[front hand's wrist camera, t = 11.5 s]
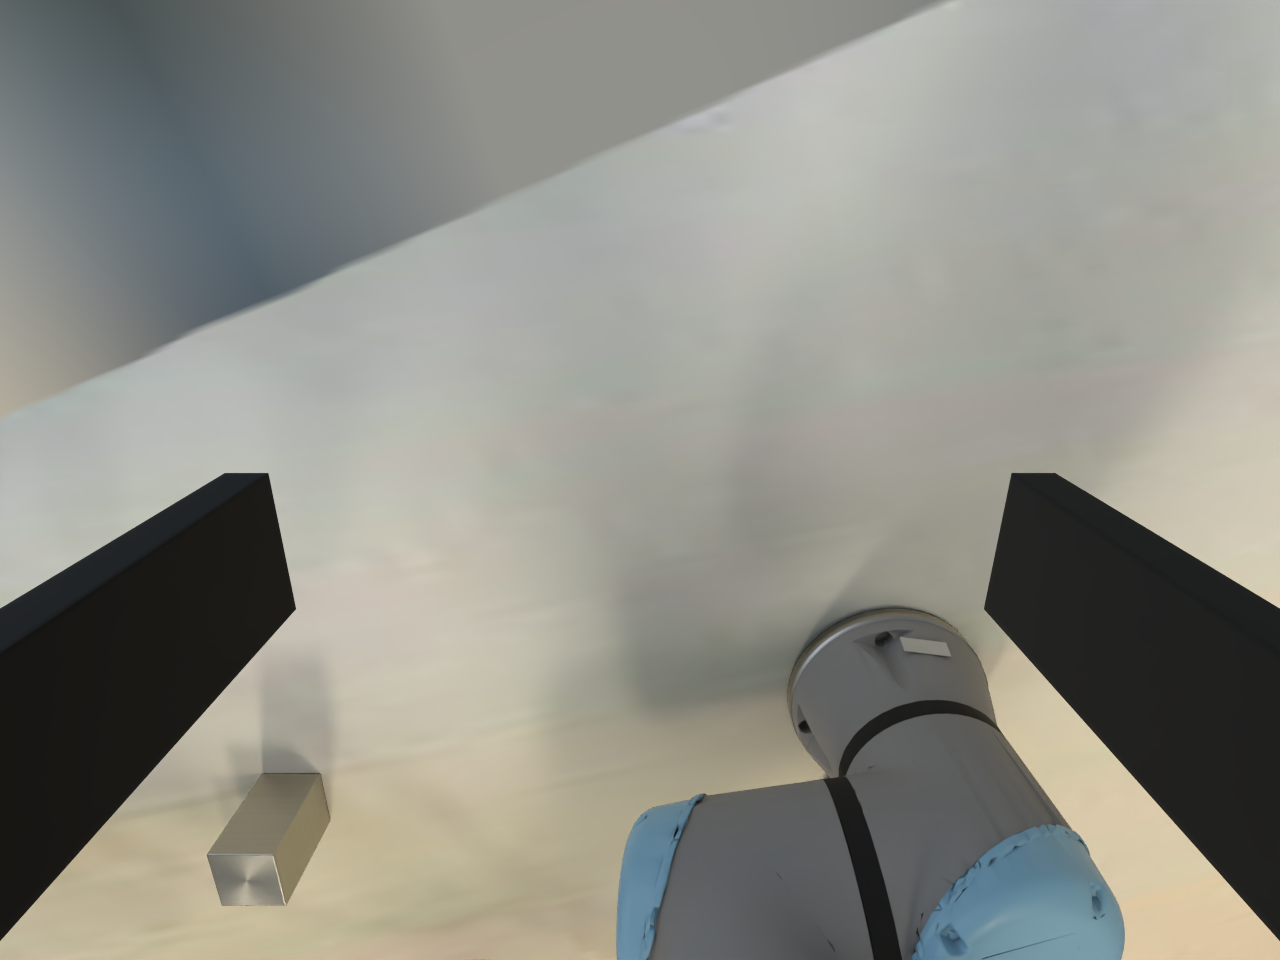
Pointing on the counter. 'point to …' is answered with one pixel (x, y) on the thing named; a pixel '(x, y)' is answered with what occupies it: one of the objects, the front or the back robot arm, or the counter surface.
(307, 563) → the counter surface
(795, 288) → the counter surface
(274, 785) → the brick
